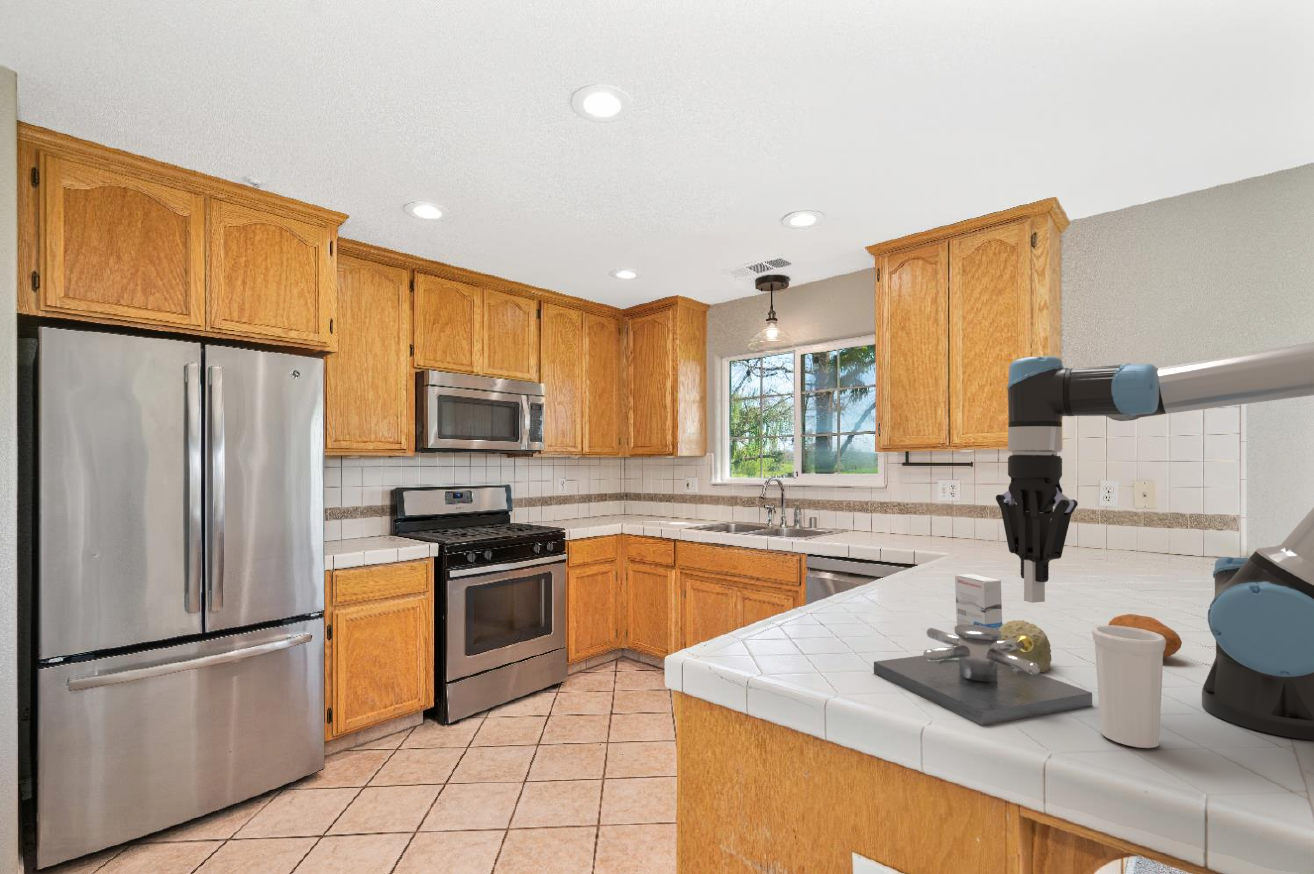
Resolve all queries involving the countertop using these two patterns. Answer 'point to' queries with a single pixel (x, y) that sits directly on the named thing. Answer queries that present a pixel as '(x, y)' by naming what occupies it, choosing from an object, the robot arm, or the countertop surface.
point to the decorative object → (1040, 640)
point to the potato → (1151, 625)
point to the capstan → (981, 651)
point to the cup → (1129, 683)
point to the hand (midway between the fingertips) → (1034, 600)
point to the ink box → (978, 601)
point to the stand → (983, 690)
